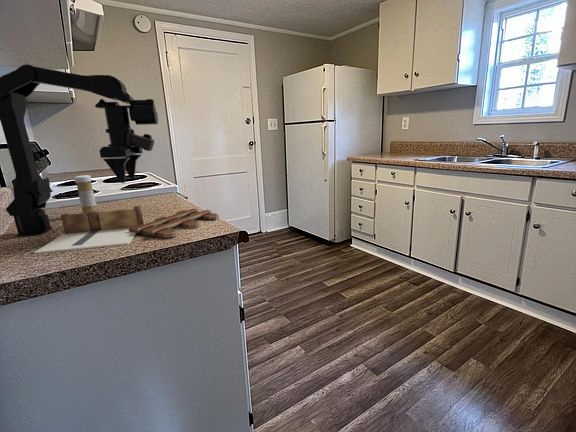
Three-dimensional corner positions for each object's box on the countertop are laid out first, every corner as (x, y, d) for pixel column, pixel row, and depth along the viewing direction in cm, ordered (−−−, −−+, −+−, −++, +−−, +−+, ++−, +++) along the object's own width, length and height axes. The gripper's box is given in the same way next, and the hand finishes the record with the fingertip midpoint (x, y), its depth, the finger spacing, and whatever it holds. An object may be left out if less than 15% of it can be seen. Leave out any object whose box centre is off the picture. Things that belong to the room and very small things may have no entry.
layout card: (34, 253, 71) (34, 251, 71) (69, 231, 87) (68, 230, 87) (127, 244, 75) (127, 242, 75) (144, 224, 91) (144, 223, 91)
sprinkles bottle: (85, 214, 108) (76, 175, 104) (99, 212, 109) (91, 174, 106) (81, 217, 103) (72, 177, 100) (96, 215, 105) (88, 176, 101)
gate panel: (101, 229, 86) (97, 210, 84) (103, 228, 87) (99, 208, 86) (143, 226, 88) (139, 207, 86) (144, 224, 89) (141, 205, 88)
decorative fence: (125, 232, 83) (166, 239, 76) (124, 226, 82) (165, 233, 76) (186, 212, 103) (223, 216, 96) (186, 207, 102) (222, 211, 96)
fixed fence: (63, 234, 84) (58, 216, 82) (67, 231, 86) (62, 213, 85) (99, 231, 85) (95, 212, 84) (102, 228, 88) (99, 210, 86)
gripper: (141, 123, 79) (150, 183, 83) (156, 125, 97) (162, 175, 101) (93, 124, 77) (105, 186, 81) (117, 126, 95) (126, 177, 99)
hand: (128, 180), depth 90 cm, fingers open, 9 cm apart
